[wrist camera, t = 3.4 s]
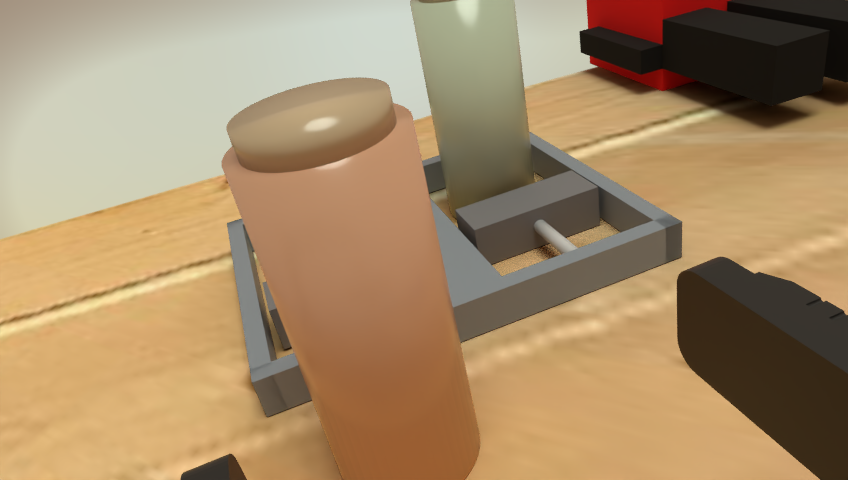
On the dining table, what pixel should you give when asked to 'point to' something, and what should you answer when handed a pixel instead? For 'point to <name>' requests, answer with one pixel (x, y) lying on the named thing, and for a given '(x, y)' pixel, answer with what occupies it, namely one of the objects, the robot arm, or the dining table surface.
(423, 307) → the terracotta jar
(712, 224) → the dining table surface
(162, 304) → the dining table surface
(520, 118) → the green jar
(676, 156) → the dining table surface
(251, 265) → the rack
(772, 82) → the red and black block
